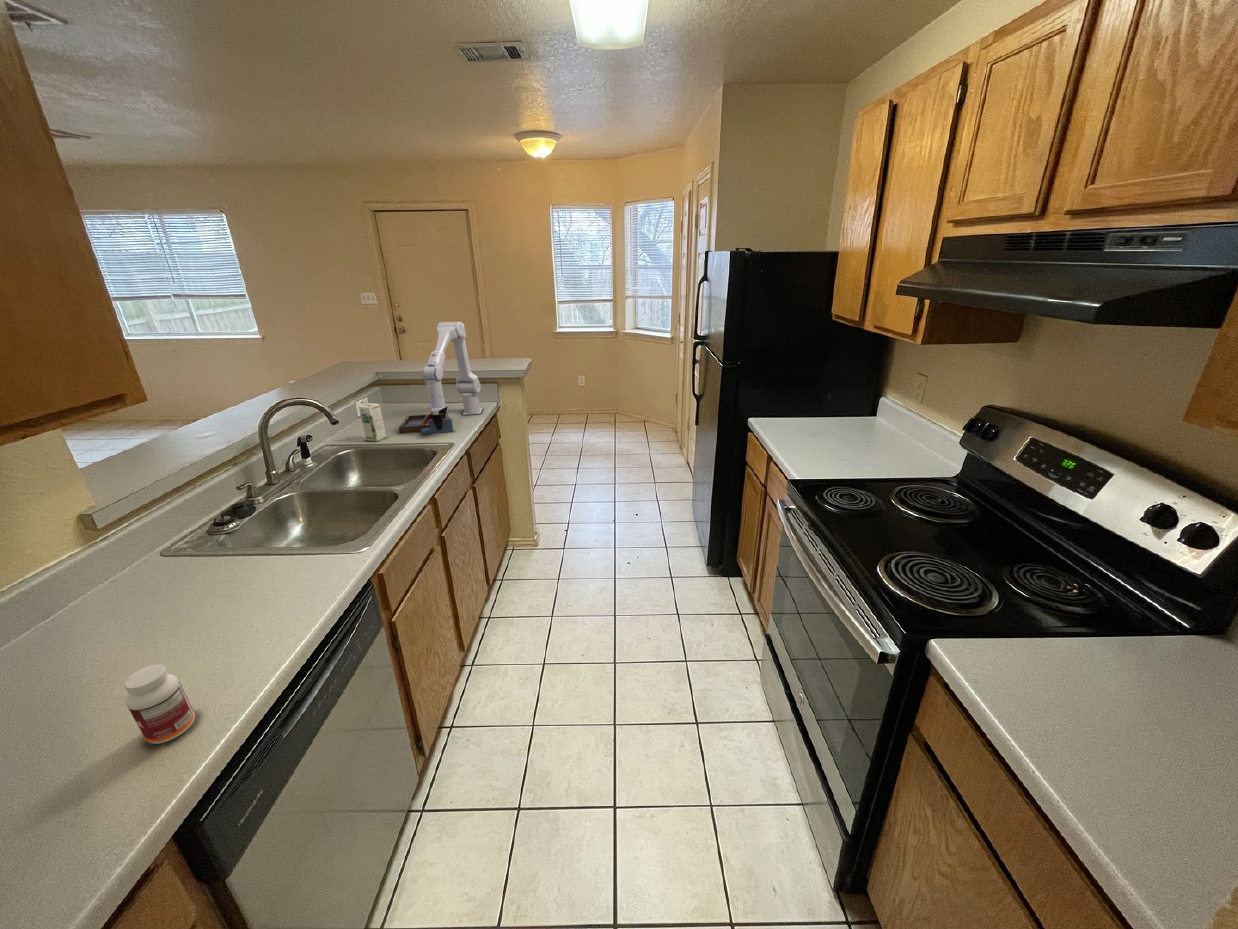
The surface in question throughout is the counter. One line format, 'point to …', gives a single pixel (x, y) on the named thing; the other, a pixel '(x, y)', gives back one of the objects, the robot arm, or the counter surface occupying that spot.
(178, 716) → the pill bottle
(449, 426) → the blue spoon
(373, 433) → the syrup box
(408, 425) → the sorting tray
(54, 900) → the counter surface
